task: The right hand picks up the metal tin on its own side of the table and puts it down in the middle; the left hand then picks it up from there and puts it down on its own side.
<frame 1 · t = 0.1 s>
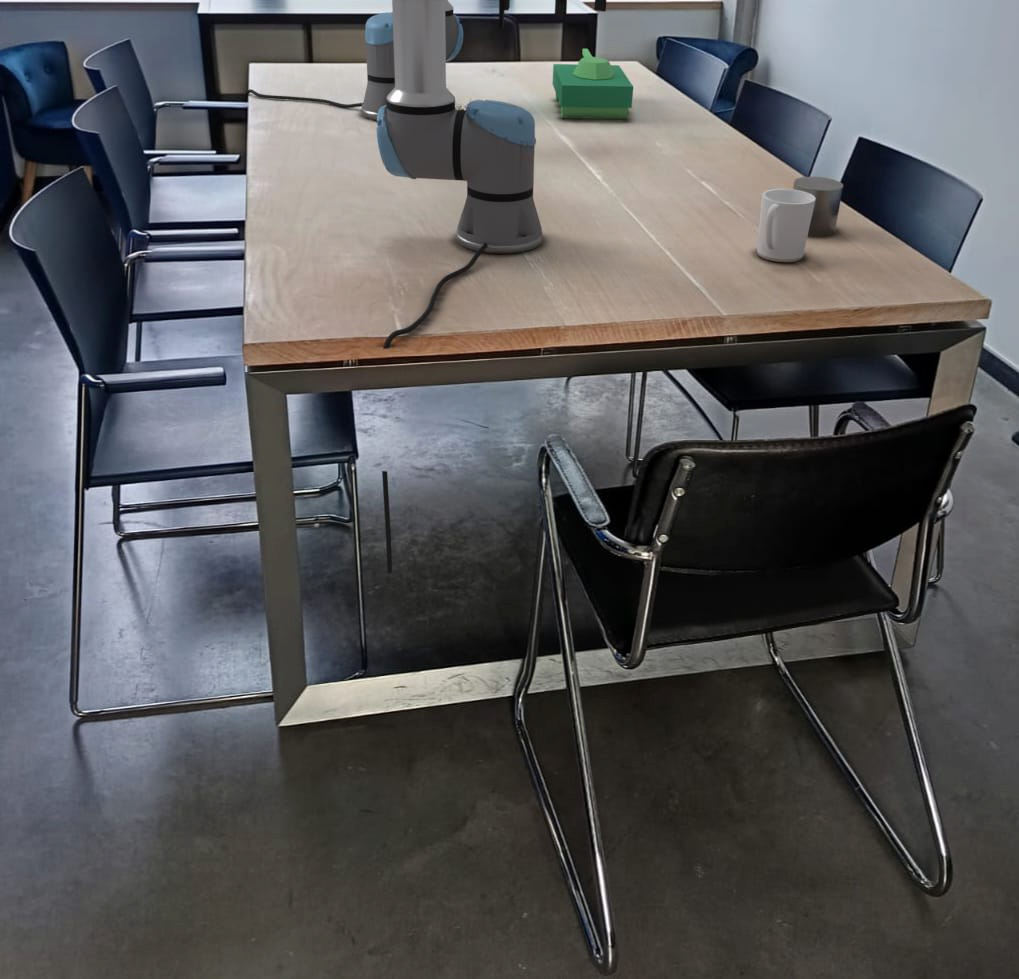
left hand: (580, 13, 242), 28 cm above the table, tool pointing down, fingers open, 13 cm apart
right hand: (468, 26, 224), 28 cm above the table, tool pointing down, fingers open, 13 cm apart
mug: (776, 257, 191), on the table
axe head: (403, 91, 300), on the table
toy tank: (588, 106, 289), on the table
tin: (811, 229, 205), on the table
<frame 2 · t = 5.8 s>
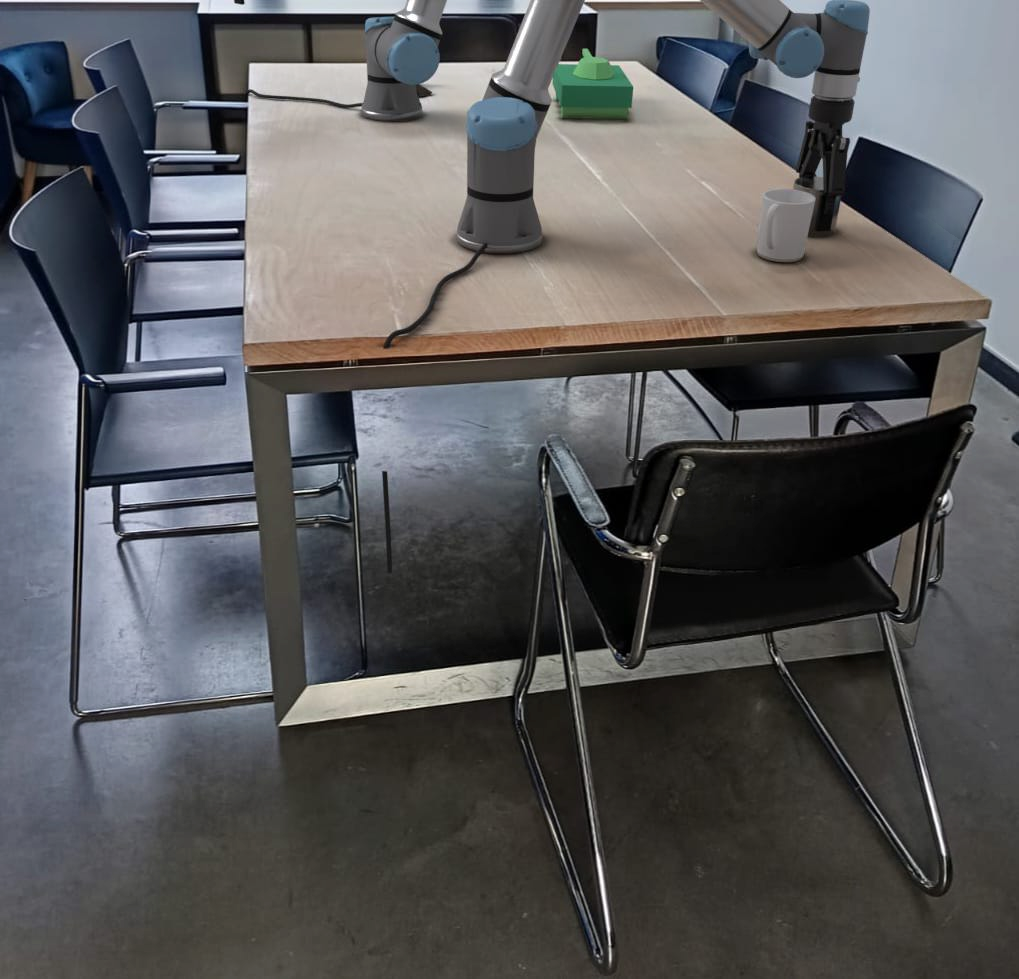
left hand: (265, 1, 240), 29 cm above the table, tool pointing down, fingers open, 13 cm apart
right hand: (812, 222, 204), 1 cm above the table, tool pointing down, fingers closed on tin, 9 cm apart
tin: (811, 229, 205), on the table, touching right hand
everything else where it was.
when the right hand's fingers open (3 cm above the table, at t = 17.4 s): tin drops 2 cm, on the table.
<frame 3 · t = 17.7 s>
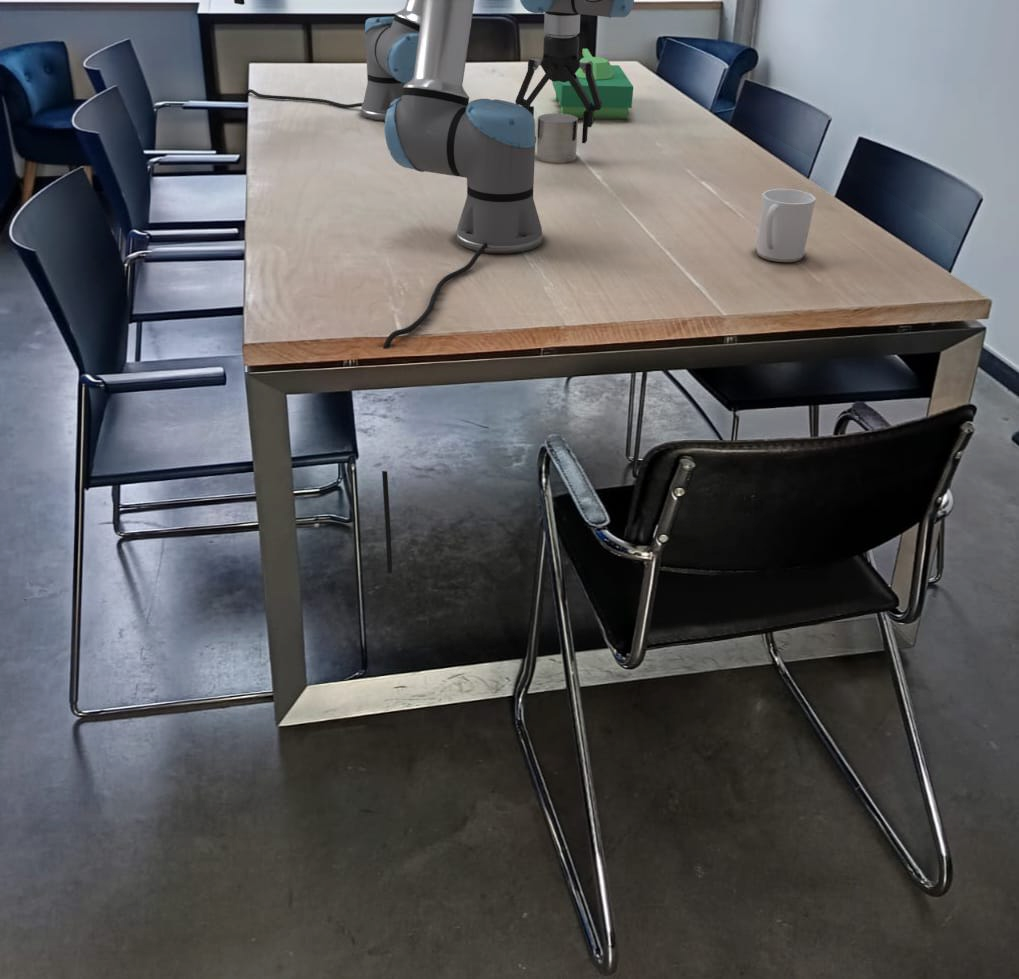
left hand: (265, 1, 240), 29 cm above the table, tool pointing down, fingers open, 13 cm apart
right hand: (557, 140, 243), 4 cm above the table, tool pointing down, fingers open, 11 cm apart
tin: (556, 157, 245), on the table
everything else where it was.
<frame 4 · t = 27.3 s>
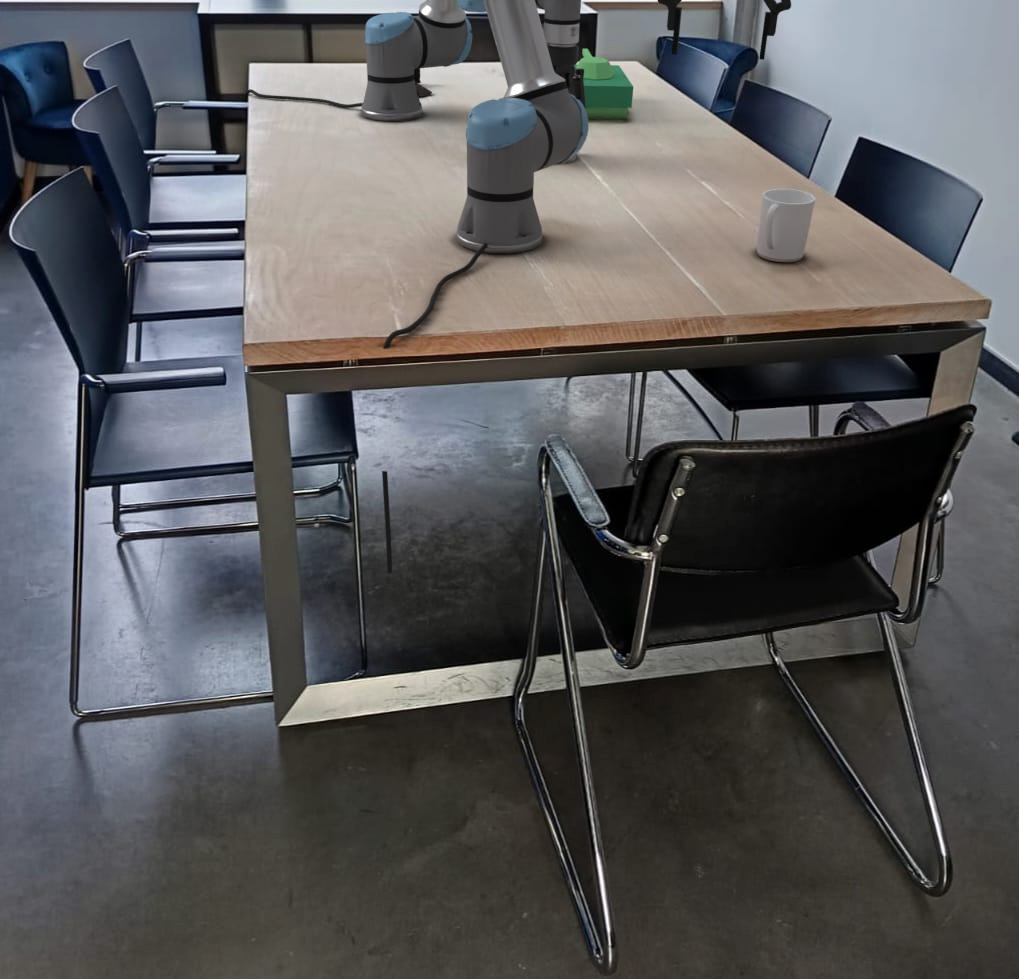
left hand: (556, 151, 244), 1 cm above the table, tool pointing down, fingers closed on tin, 9 cm apart
right hand: (717, 55, 172), 33 cm above the table, tool pointing down, fingers open, 13 cm apart
tin: (556, 157, 245), on the table, touching left hand
everything else where it was.
when the left hand's fingers open (3 cm above the table, at t = 33.0 s): tin drops 2 cm, on the table.
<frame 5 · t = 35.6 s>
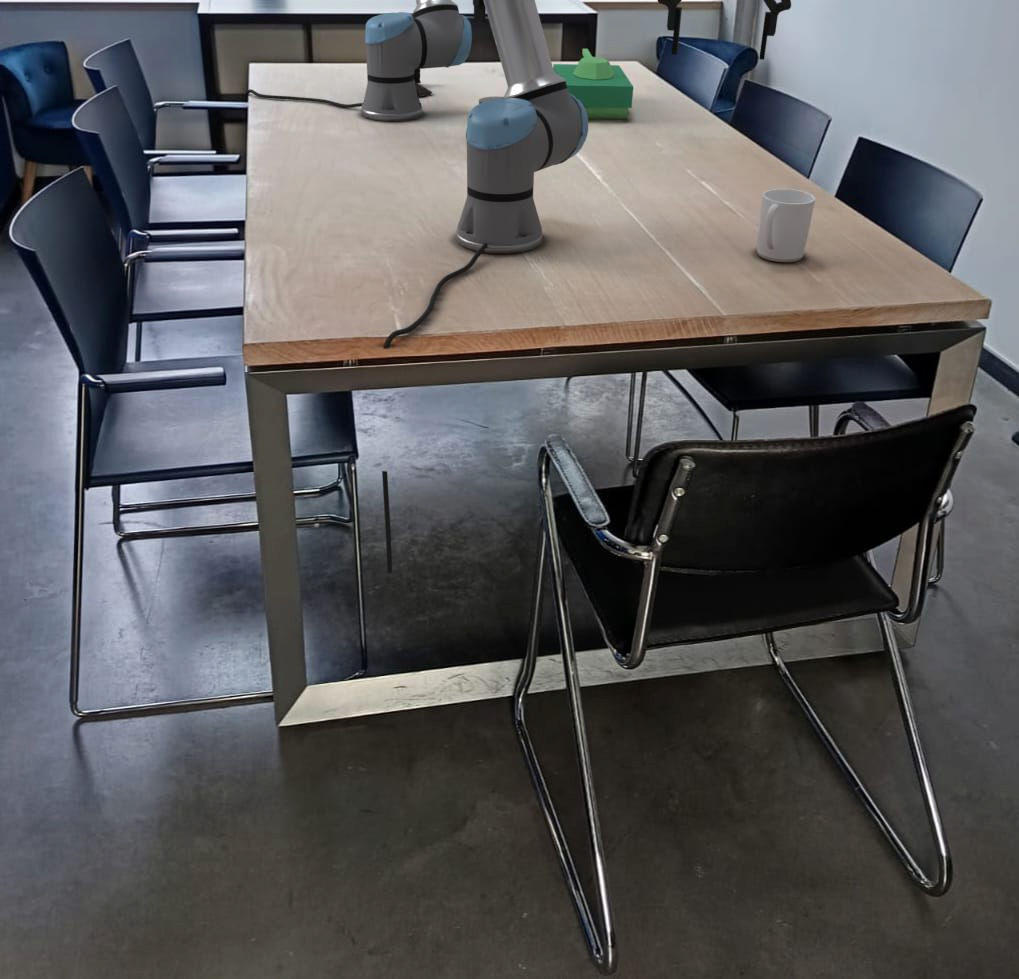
left hand: (499, 18, 244), 26 cm above the table, tool pointing down, fingers open, 13 cm apart
right hand: (717, 55, 172), 33 cm above the table, tool pointing down, fingers open, 13 cm apart
tin: (497, 138, 258), on the table
everything else where it was.
at the end: tin inside the target area (0.1 cm from its centre), on the table; tin tilted 0°; the two hands never held the tin at the same time; the left hand is holding nothing; the right hand is holding nothing; tin at rest at the end (0.0 cm/s) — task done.
